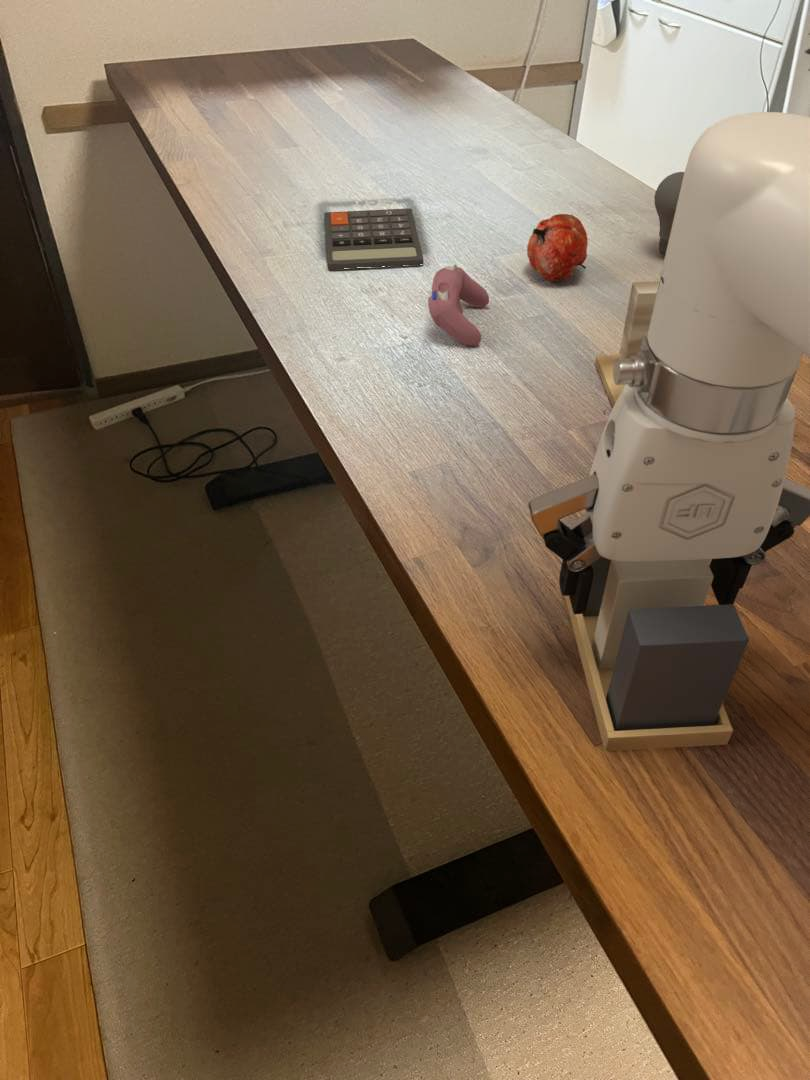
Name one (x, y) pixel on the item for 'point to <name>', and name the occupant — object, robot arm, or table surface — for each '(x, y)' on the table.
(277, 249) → the table surface
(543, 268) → the pomegranate
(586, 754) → the table surface
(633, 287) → the wooden block stand
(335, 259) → the calculator
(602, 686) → the shallow beige tray
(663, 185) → the light bulb
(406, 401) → the table surface
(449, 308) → the video game controller
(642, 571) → the beige rectangular block
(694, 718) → the dark grey block
